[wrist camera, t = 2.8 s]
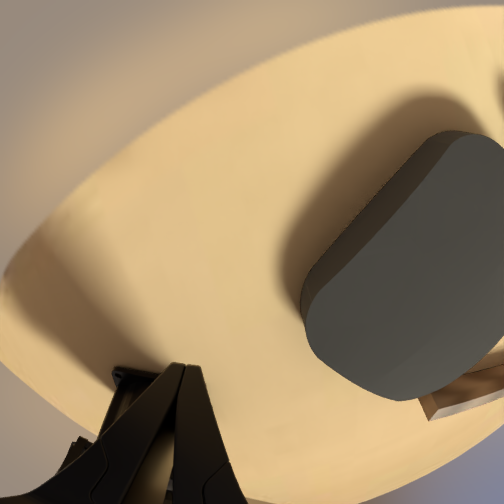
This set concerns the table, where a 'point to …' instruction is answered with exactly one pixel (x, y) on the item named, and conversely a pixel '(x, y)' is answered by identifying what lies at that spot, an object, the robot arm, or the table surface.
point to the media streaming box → (416, 274)
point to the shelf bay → (465, 393)
